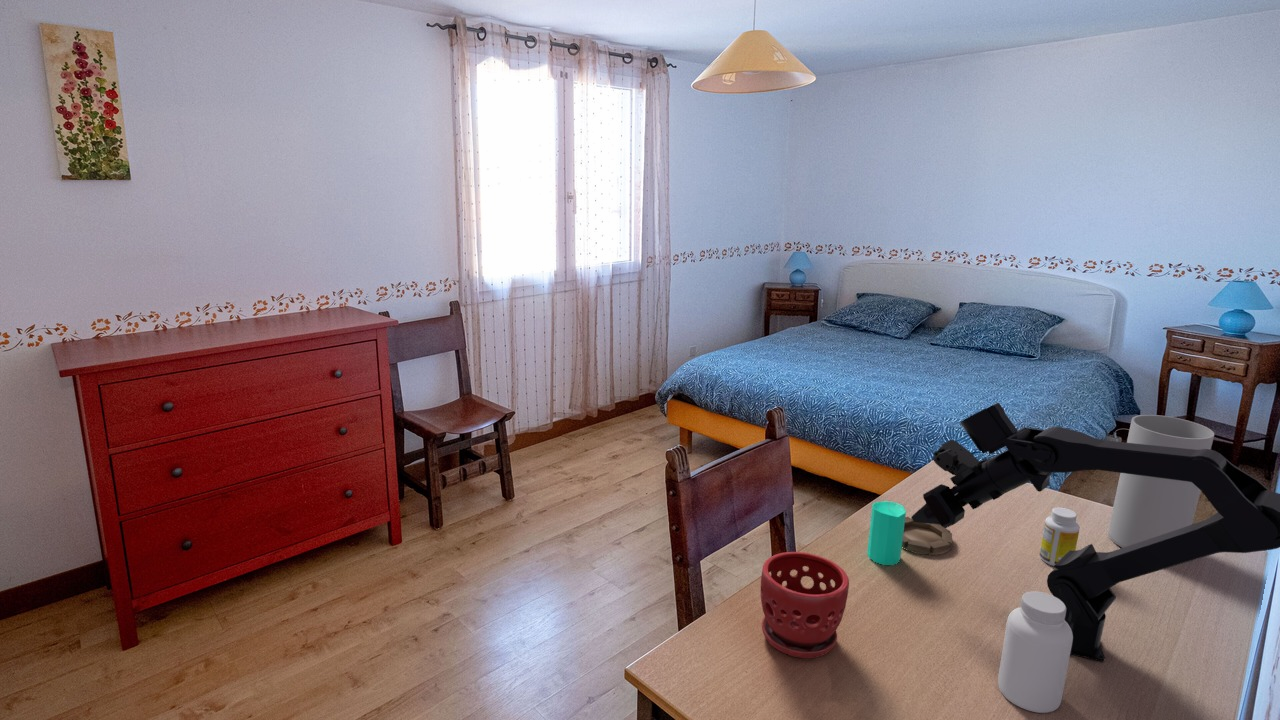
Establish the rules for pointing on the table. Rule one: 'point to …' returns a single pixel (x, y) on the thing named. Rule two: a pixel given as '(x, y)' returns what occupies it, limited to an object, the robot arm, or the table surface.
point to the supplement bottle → (1059, 535)
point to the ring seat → (926, 538)
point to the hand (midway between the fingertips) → (926, 511)
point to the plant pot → (802, 604)
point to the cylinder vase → (1156, 484)
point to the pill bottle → (1036, 653)
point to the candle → (886, 532)
